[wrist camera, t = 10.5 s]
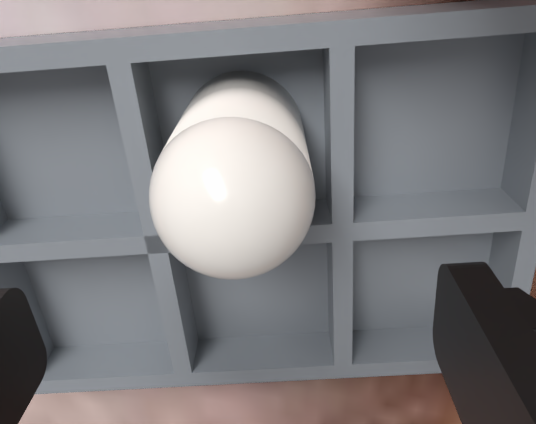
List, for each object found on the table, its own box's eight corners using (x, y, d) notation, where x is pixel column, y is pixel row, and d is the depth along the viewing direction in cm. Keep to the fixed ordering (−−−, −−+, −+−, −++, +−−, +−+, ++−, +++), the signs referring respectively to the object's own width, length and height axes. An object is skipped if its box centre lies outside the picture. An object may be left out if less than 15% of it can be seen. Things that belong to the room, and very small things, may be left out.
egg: (299, 65, 18) (321, 139, 10) (304, 180, 20) (325, 309, 12) (175, 75, 18) (110, 154, 11) (193, 188, 20) (149, 319, 13)
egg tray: (546, -5, 17) (592, 0, 15) (488, 327, 24) (513, 369, 22) (-68, 43, 18) (-122, 56, 16) (47, 351, 25) (23, 394, 22)
